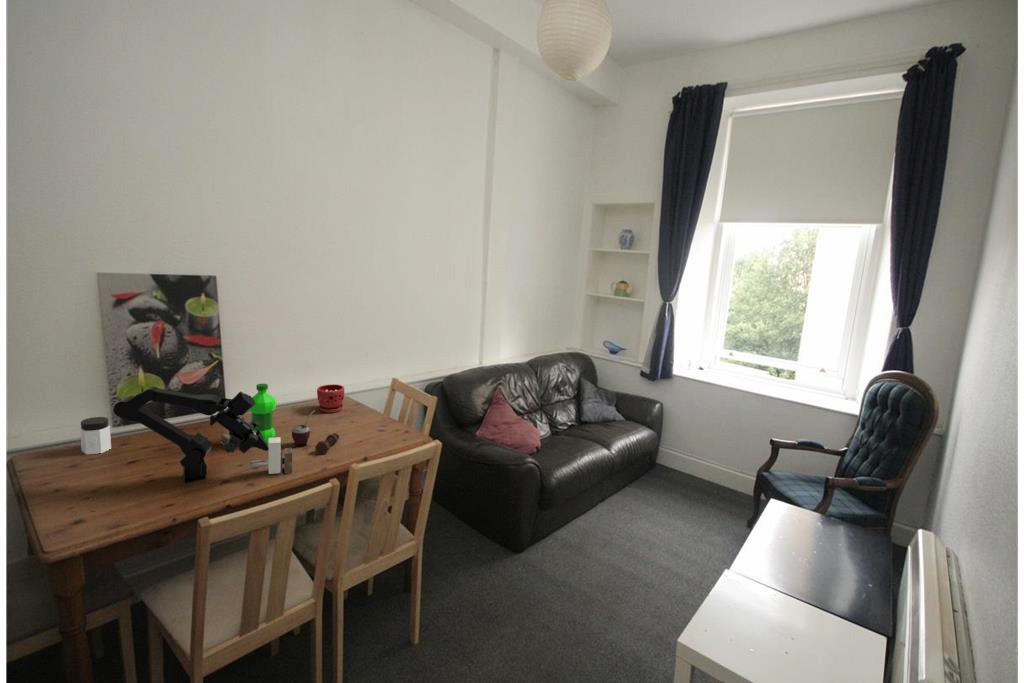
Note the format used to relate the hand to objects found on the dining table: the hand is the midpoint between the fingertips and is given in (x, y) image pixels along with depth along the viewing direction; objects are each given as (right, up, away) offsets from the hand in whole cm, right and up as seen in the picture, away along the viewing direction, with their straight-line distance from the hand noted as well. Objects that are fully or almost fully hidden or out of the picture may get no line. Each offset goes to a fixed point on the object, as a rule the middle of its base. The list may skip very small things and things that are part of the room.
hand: (267, 449), depth 188 cm
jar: (-69, -2, +8) cm, 70 cm away
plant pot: (-3, +5, +73) cm, 73 cm away
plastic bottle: (-16, -3, +28) cm, 32 cm away
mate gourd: (+1, -4, +29) cm, 29 cm away
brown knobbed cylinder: (+12, -5, +29) cm, 32 cm away
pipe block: (+4, -9, +4) cm, 11 cm away
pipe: (-1, -6, +2) cm, 6 cm away
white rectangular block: (+1, -9, +3) cm, 9 cm away
